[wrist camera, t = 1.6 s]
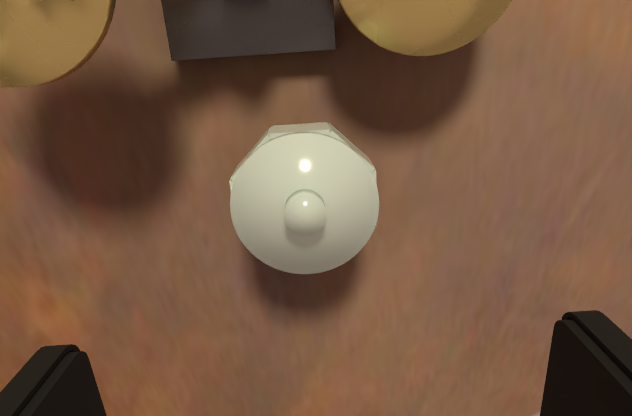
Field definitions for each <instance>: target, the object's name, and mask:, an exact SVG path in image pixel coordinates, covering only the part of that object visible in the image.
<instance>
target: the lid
mask: <svg viewBox="0 0 632 416" xmlns="http://www.w3.org/2000/svg"><path fill="white" fill-rule="evenodd" d="M229 182H230V189H231V199H230V210H231V217H232V222H233V225H234V228H235V230H236V233H237V234H238V237H239V238H240V240H241V241H242V243H243V244H244V246H245V247H246V248H247V249H248V250H249V251H250V252H251V253H252V254H253V255H254V256H255V257H256V258H258V259H259V260H260V261H262V262H263V263H265V264H267V265H269V266H271V267H273V268H275V269H278V270H281V271H284V272H289V273H294V274H314V273H321V272H325V271H329V270H331V269H334V268H336V267H338V266H340V265H342V264H344V263H346V262H347V261H349V260H350V259H352V258H353V257H354V256H355V255H356V254H357V253H358V252H359V251H360V250H361V249H362V248H363V247H364V246H365V244H366V243H367V241H368V240H369V238H370V237H371V235H372V233H373V231H374V228H375V227H376V224H377V218H378V213H379V196H378V190H377V186H376V170H375V168H374V166H373V164H372V163H371V161H370V159H369V158H368V157H367V156H366V155H365V154H364V153H363V152H362V151H360V150H359V149H358V148H357V147H356V146H355V145H354V144H353V143H351V142H350V141H349V140H348V139H347V138H346V137H345V136H344V135H342V134H341V133H340V132H339V131H338V130H337V129H336V128H335V127H333V126H332V125H331V124H330V123H329V124H327V122H320V123H306V124H292V125H278V126H272V128H271V127H270V128H269V129H268V130H267V131H266V132H265V134H264V135H263V136H262V137H261V138H260V140H259V141H258V142H257V143H256V144H255V146H254V147H253V148H252V149H251V150H250V152H249V153H248V154H247V155H246V156H245V158H244V159H243V160H242V161H241V162H240V164H239V165H238V166H237V167H236V169H235V171H234V173H233V174H232V176H231V178H230V181H229Z"/></svg>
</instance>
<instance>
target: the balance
mask: <svg viewBox="0 0 632 416" xmlns="http://www.w3.org/2000/svg"><path fill="white" fill-rule="evenodd" d="M338 1H339V3H340V5H341V7H342V9H343V11H344V13H345V14H346V16H347V17H348V19H349V20H350V22H351V23H352V24H353V25H354V26H355V27H356V29H357V30H358V31H359V32H360V33H361V34H363V35H364V36H365V37H366V38H367V39H369V40H370V41H372V42H373V43H375V44H376V45H378V46H380V47H382V48H384V49H386V50H389V51H392V52H395V53H399V54H404V55H411V56H430V55H438V54H442V53H446V52H450V51H453V50H455V49H457V48H460V47H462V46H464V45H466V44H468V43H469V42H471V41H473V40H475V39H476V38H477V37H479V36H480V35H481V34H483V33H484V32H485V31H486V30H487V29H488V28H490V27H491V26H492V25H493V24H494V23H495V22H496V21H497V19H498V18H499V17H500V16H501V15H502V13H503V12H504V11H505V10H506V8H507V7H508V5H509V4H510V2H511V0H338ZM115 2H116V0H0V87H5V88H7V87H27V86H34V85H41V84H46V83H49V82H53V81H56V80H59V79H61V78H63V77H65V76H67V75H69V74H71V73H72V72H74V71H75V70H77V69H78V68H80V67H81V66H82V65H83V64H84V63H85V62H86V61H88V60H89V59H90V58H91V57H92V55H93V54H94V53H95V51H96V50H97V49H98V48H99V46H100V44H101V43H102V41H103V39H104V37H105V36H106V34H107V31H108V28H109V26H110V23H111V21H112V17H113V12H114V8H115ZM161 2H162V7H163V13H164V19H165V25H166V31H167V36H168V42H169V48H170V54H171V60H172V61H176V60H191V59H205V58H219V57H234V56H248V55H262V54H277V53H291V52H306V51H320V50H334V49H336V48H335V26H334V4H333V0H161Z"/></svg>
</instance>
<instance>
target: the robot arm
mask: <svg viewBox="0 0 632 416" xmlns="http://www.w3.org/2000/svg"><path fill="white" fill-rule="evenodd" d="M0 416H106V413H105V409H104V406H103V403H102V400H101V397H100V393H99V390H98V387H97V384H96V381H95V377H94V374H93V371H92V368H91V365H90V361H89V358H88V356H87V354H86V353H85V352H83V351H80V350H79V348H78V347H77V346H76V345H72V344H71V345H56V346H44V347H41V348H40V349H39V350H38V351H37V352H36V353H35V354H34V355H33V356H32V357H31V358H30V360H29V361H28V362H27V363H26V364H25V365H24V366H23V367H22V369H21V370H20V371H19V372H18V373H17V374H16V375H15V377H14V378H13V379H12V380H11V381H10V382H9V383H8V384H7V386H6V387H5V388H4V389H3V390H2V391H1V392H0ZM540 416H632V339H631V338H629V337H628V336H627V335H626V334H625V333H624V332H623V331H622V330H621V329H620V328H618V327H617V326H616V325H615V324H614V323H613V322H612V321H611V320H610V319H609V318H608V317H606V316H605V315H604V314H603V313H601V312H600V311H596V310H594V311H579V312H567V313H565V314H564V315H563V317H562V320H559V321H557V322H556V323H555V325H554V330H553V336H552V343H551V349H550V355H549V362H548V368H547V374H546V381H545V387H544V393H543V400H542V406H541V412H540Z"/></svg>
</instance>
